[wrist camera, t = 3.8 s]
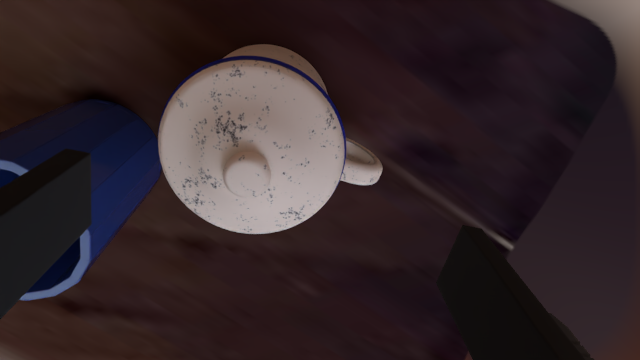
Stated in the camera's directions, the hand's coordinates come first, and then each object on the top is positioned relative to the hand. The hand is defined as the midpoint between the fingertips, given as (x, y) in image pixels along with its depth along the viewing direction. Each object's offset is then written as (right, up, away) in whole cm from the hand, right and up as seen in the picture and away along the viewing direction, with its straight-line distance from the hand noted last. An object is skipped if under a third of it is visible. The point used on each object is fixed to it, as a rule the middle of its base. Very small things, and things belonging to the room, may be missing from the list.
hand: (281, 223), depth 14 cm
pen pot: (-14, +3, +14) cm, 20 cm away
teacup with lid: (-1, +6, +13) cm, 15 cm away
